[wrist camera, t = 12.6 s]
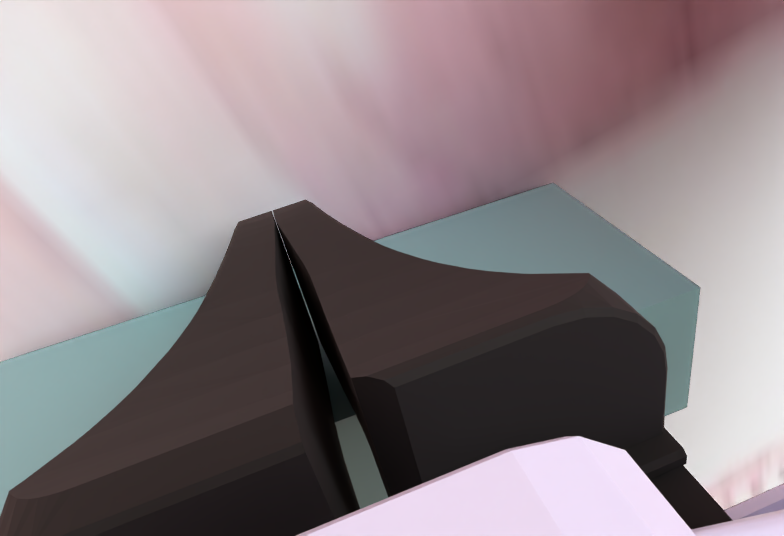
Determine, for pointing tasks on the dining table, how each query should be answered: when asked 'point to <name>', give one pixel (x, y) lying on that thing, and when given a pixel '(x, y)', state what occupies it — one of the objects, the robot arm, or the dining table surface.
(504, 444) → the robot arm
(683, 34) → the dining table surface
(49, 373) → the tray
